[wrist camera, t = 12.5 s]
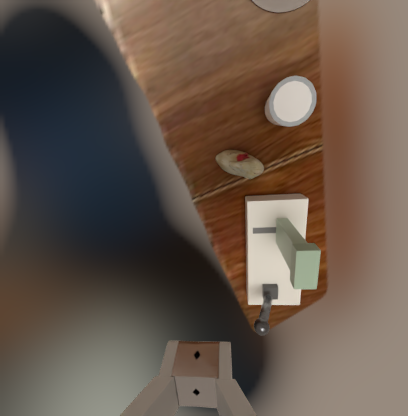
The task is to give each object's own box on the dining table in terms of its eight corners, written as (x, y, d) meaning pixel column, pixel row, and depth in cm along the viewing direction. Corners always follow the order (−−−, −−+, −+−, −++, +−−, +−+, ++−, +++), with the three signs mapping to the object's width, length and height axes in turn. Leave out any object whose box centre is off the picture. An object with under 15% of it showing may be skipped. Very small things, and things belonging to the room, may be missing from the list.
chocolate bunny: (242, 185, 43) (248, 198, 33) (212, 160, 42) (209, 167, 32) (261, 163, 41) (273, 170, 32) (230, 137, 40) (232, 137, 31)
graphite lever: (262, 289, 44) (252, 324, 36) (275, 292, 43) (268, 329, 35) (262, 299, 44) (252, 335, 37) (275, 302, 43) (267, 340, 35)
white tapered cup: (303, 86, 36) (321, 74, 30) (297, 128, 39) (312, 126, 32) (263, 86, 37) (271, 75, 30) (259, 128, 39) (266, 126, 33)
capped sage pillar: (273, 216, 40) (296, 250, 27) (290, 215, 39) (320, 250, 27) (273, 244, 42) (293, 289, 29) (288, 244, 41) (316, 289, 29)
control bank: (245, 196, 43) (247, 203, 38) (300, 193, 42) (311, 200, 37) (246, 292, 51) (249, 308, 46) (293, 292, 50) (301, 309, 45)
